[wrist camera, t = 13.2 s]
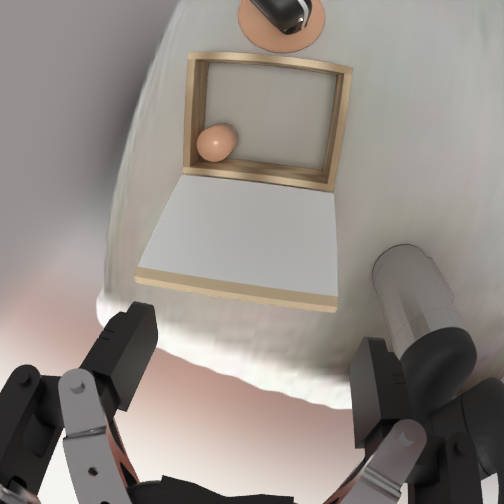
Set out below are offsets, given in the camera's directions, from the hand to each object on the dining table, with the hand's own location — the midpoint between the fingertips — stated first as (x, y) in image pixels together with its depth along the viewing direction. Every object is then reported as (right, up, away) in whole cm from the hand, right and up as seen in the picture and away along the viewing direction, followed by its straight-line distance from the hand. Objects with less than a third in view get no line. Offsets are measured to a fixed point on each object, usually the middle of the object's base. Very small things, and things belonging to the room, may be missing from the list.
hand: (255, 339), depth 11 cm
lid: (-1, +5, +17) cm, 18 cm away
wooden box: (+2, +20, +23) cm, 31 cm away
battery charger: (+3, +30, +16) cm, 35 cm away
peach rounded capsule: (-4, +17, +26) cm, 31 cm away
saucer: (+3, +31, +17) cm, 35 cm away
